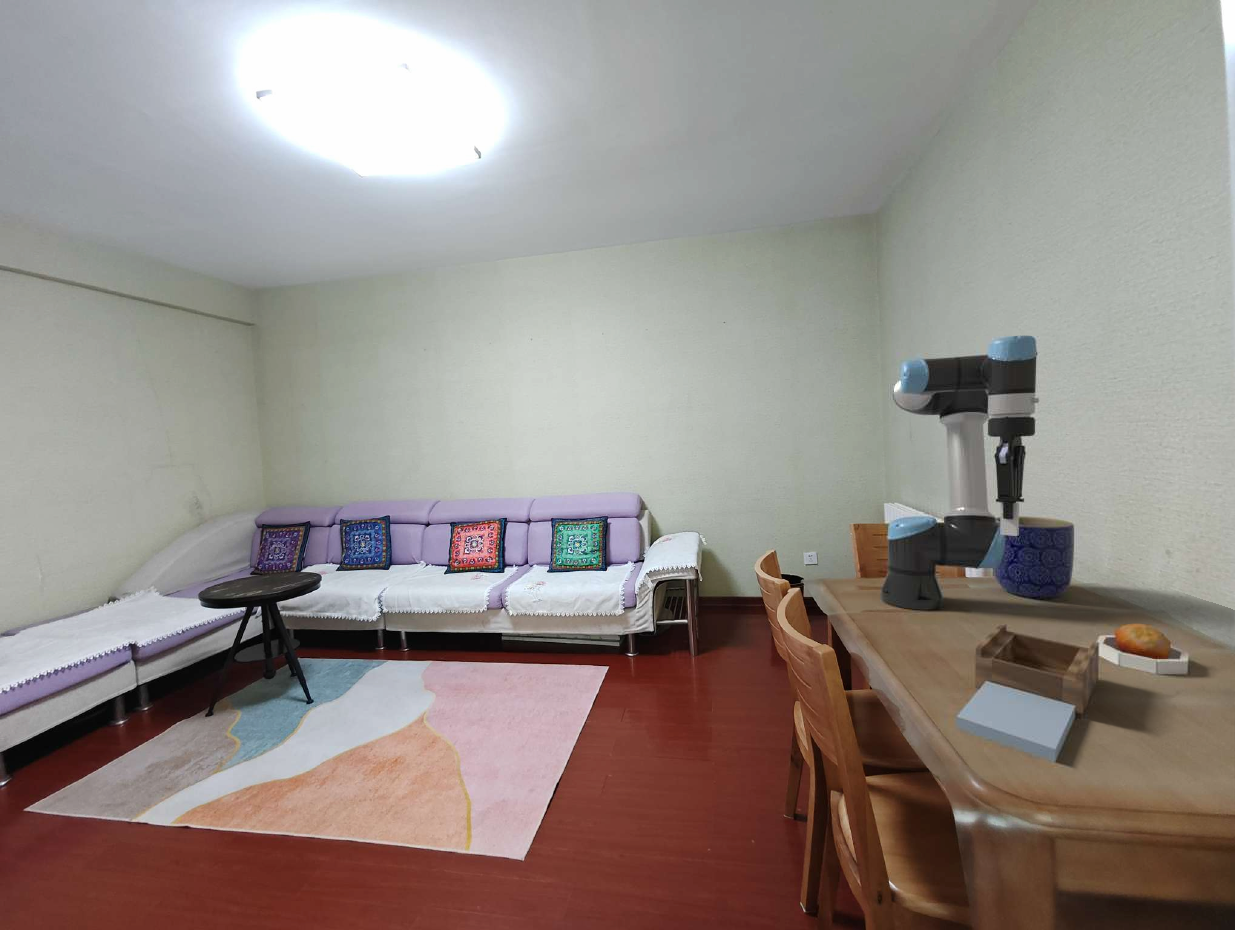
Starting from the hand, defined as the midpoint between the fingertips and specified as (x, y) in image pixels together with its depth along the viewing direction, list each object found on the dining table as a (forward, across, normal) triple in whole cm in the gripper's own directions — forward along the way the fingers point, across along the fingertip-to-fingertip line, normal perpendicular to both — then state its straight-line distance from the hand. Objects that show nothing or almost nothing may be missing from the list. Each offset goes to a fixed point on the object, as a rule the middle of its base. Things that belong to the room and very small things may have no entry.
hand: (1009, 534), depth 106 cm
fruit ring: (+26, +20, -18) cm, 38 cm away
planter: (+27, +58, +7) cm, 64 cm away
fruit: (+27, +20, -18) cm, 38 cm away
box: (+26, -7, -6) cm, 28 cm away
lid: (+27, -25, -6) cm, 37 cm away
